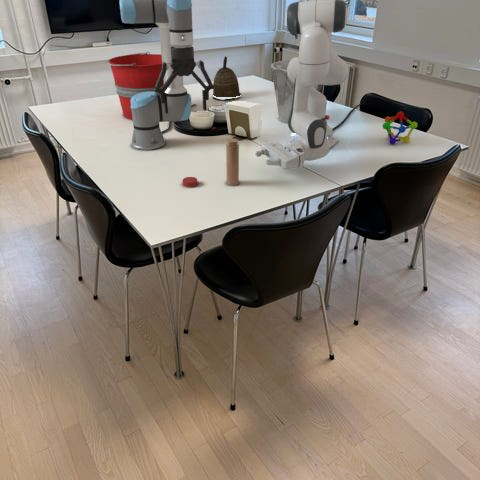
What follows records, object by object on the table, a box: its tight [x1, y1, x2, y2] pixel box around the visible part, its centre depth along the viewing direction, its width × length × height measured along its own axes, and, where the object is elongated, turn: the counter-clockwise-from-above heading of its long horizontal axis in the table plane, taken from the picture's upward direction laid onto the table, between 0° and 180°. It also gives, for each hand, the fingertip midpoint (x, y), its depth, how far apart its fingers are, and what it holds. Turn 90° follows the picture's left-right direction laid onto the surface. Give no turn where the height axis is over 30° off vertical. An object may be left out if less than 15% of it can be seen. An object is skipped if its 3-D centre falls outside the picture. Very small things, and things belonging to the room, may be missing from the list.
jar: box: [225, 138, 240, 187], centre depth 167 cm, size 5×5×17 cm
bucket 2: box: [270, 60, 325, 124], centre depth 235 cm, size 30×30×28 cm
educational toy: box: [382, 110, 418, 145], centre depth 207 cm, size 16×13×15 cm
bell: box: [212, 56, 242, 97], centre depth 278 cm, size 19×26×20 cm
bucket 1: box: [105, 51, 164, 121], centre depth 241 cm, size 35×35×30 cm
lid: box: [182, 176, 198, 188], centre depth 170 cm, size 6×6×2 cm
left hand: (185, 111), depth 156 cm, fingers open, 13 cm apart
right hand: (261, 158), depth 172 cm, fingers open, 8 cm apart
